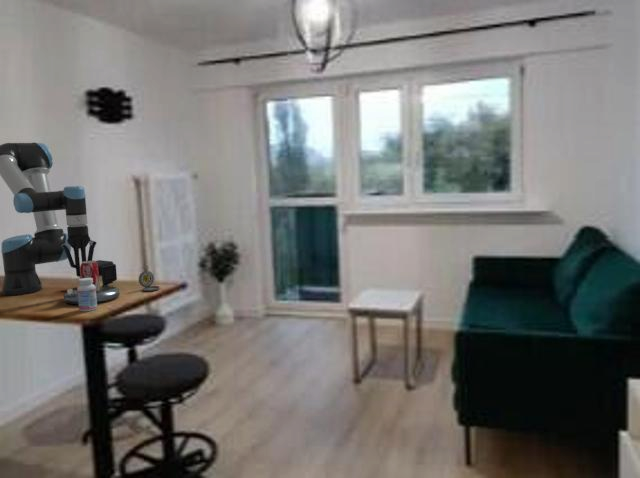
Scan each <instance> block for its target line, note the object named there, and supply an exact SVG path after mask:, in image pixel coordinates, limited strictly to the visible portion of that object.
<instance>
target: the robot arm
mask: <svg viewBox="0 0 640 478" xmlns="http://www.w3.org/2000/svg"><path fill="white" fill-rule="evenodd" d="M53 164H54V163H53V156H52V152H51V150H50V148H49V147H48V146H47V145H46V144H44V143H42V142H6V143H2V144H0V177H1V178H2V179H3V181H4V183H5V185H6V186H7V188H9V189H10V191H11V192H12V194H13V200H12V201H13V207H14V210H15V211H16V213H19V214H30V213H32V214H33V217H34V222H35V226H36V231H35V232H34V233H33V235H32V234H22V235H15V236H11V237H9V238H5V239H3V240H2V242H1V243H0V244H1V250H0V251H1V255H2V265H3V272H4V273H3V274H4V277H3V280H2V283H1V284H2V285H1V294H2V295H4V296H18V295H19V296H20V295H25V294H32V293H36V292H40V291H41V290H42V289H43V284H42V281H41V280H40V278H39V277H40V276H39V275H38V273H37V271H36V265H43V264H48V263H54V262H55V263H58V262H62V261H65V260H68V263H69V266H70V268H74V269H75V271H76V276H77V278H79V279H81V269H80V266H81V263H82V262H84V261H93V259H94V258H93V257H94V252H95V247H96V245H97V242H96V241H95V240H92V239H91V237H90V236H89V226H88V225H87V224H88V215H87V214H88V213H87V203H86V193H85V188H84V186H82V185H70V186H64V187H63V189H62V190H58V191H57V190H56V191H51V187H50V184H49V183H50V182H49V180H48V179H49V178H48V174H49V173H50V171H51V170H50V169H52V167H53ZM56 211H65V217H66V226H67V227H66V228H67V233H65V232H64V230H63V229H64V228H62V227H60V226H59V223H58V218H57V214H56ZM88 244H89V248H88V254H87V255H86V253H87V252H86V251H87V250H86V249H87V248H86V247H87V246H88ZM72 248H73V249H72ZM71 250H73V254H74V259H73V256H72V254H71V252H72V251H71ZM80 254H81V255H80ZM80 256H81V262H80Z"/></svg>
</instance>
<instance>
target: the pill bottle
mask: <svg viewBox="0 0 640 478" xmlns="http://www.w3.org/2000/svg"><path fill="white" fill-rule="evenodd" d="M92 283H93V278H82V279H80V278H79V279H78V284H79V285H78V286H77V289H76V290H77V291H78V303H79V304H78V310H79V312H83V313H85V312H92V311H95V310H98V302H97V298H96V287H95V285H94V284H92Z"/></svg>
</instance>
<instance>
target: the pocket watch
mask: <svg viewBox="0 0 640 478" xmlns="http://www.w3.org/2000/svg"><path fill="white" fill-rule="evenodd" d="M142 269H143V270H145V271H142V272H141V273H140V274H139V275H138V283H139V284H140V286H141V287H143V288H142V291H144V292H155V291H158V290H160V288H161V287H160V286H157V285H153V283H154V282H155V281H154V280H155V275H154V273H153V272H152V271H149V270H148V269H149V265H146V264H144V265H143V266H142Z"/></svg>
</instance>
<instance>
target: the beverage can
mask: <svg viewBox="0 0 640 478" xmlns="http://www.w3.org/2000/svg"><path fill="white" fill-rule="evenodd" d="M96 261H97V260H92V261H87V260H86V261H84V262H82V261H81V263H80V269H81V279H82V278H93V283H92V284H94V285H95V287H96V292H98V291H99V290H100V284H99V273H98V265H97V263H96Z"/></svg>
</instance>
